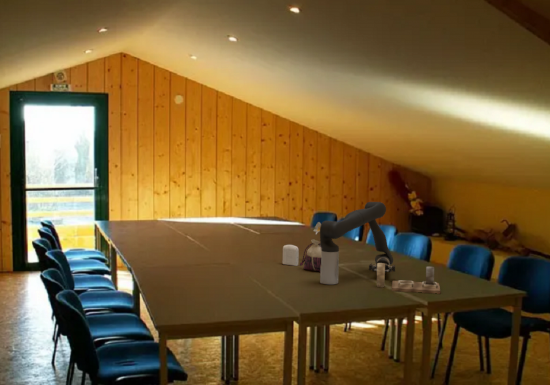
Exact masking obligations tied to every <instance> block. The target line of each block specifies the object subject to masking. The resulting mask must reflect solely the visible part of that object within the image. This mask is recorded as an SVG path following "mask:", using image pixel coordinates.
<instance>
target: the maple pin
mask: <svg viewBox="0 0 550 385" xmlns="http://www.w3.org/2000/svg"><path fill="white" fill-rule="evenodd" d="M385 274H386V272H385V264H384V263H377V271H376V287H377V288H384V287H385V282H386V281H385V276H386V275H385Z"/></svg>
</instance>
